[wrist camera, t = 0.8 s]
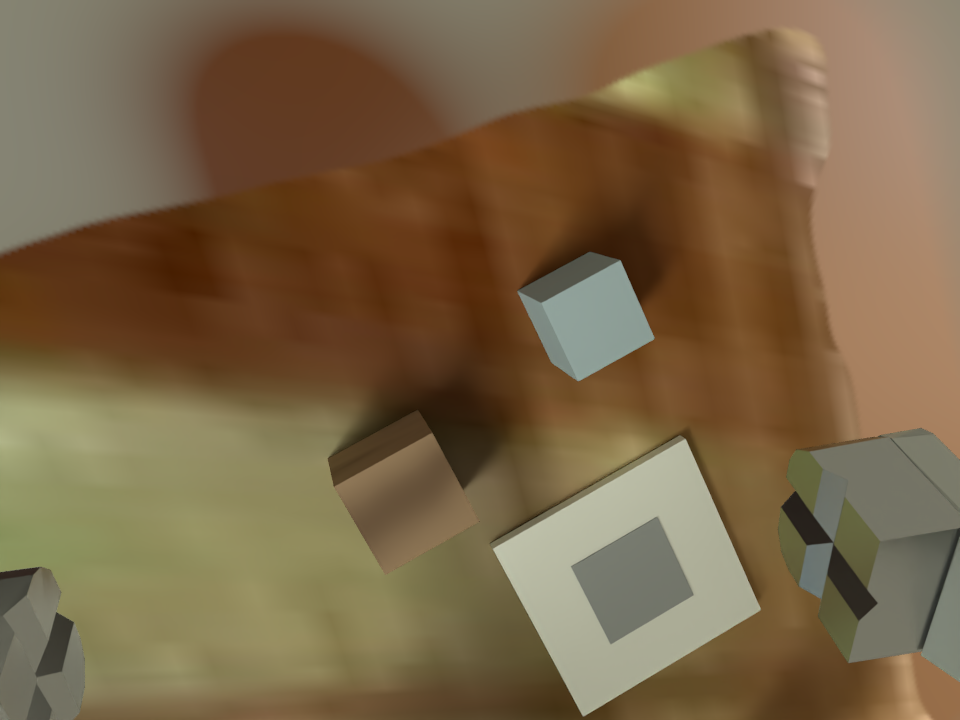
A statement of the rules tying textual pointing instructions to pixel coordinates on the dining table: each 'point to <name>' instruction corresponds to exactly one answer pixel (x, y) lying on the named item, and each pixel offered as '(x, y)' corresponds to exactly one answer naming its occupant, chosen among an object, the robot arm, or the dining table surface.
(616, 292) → the grey cube
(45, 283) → the dining table surface
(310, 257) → the dining table surface
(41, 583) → the robot arm
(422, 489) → the walnut block
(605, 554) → the plate
